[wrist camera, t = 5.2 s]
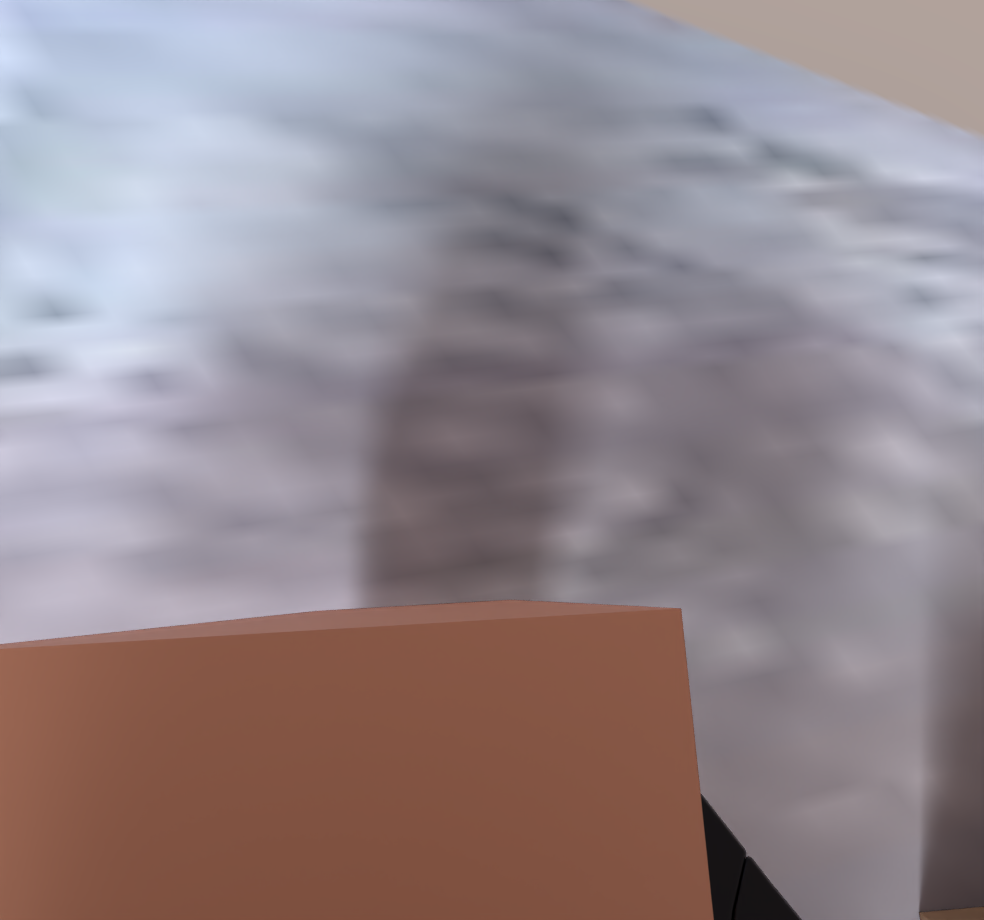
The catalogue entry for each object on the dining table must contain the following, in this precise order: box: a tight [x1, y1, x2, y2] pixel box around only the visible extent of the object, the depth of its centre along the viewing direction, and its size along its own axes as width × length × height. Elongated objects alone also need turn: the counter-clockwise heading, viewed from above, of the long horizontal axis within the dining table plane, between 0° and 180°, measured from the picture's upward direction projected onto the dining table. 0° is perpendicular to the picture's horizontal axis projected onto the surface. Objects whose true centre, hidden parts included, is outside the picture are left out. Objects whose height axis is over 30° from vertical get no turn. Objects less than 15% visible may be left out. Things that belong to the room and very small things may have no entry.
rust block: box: [0, 600, 714, 920], centre depth 10 cm, size 4×4×12 cm
